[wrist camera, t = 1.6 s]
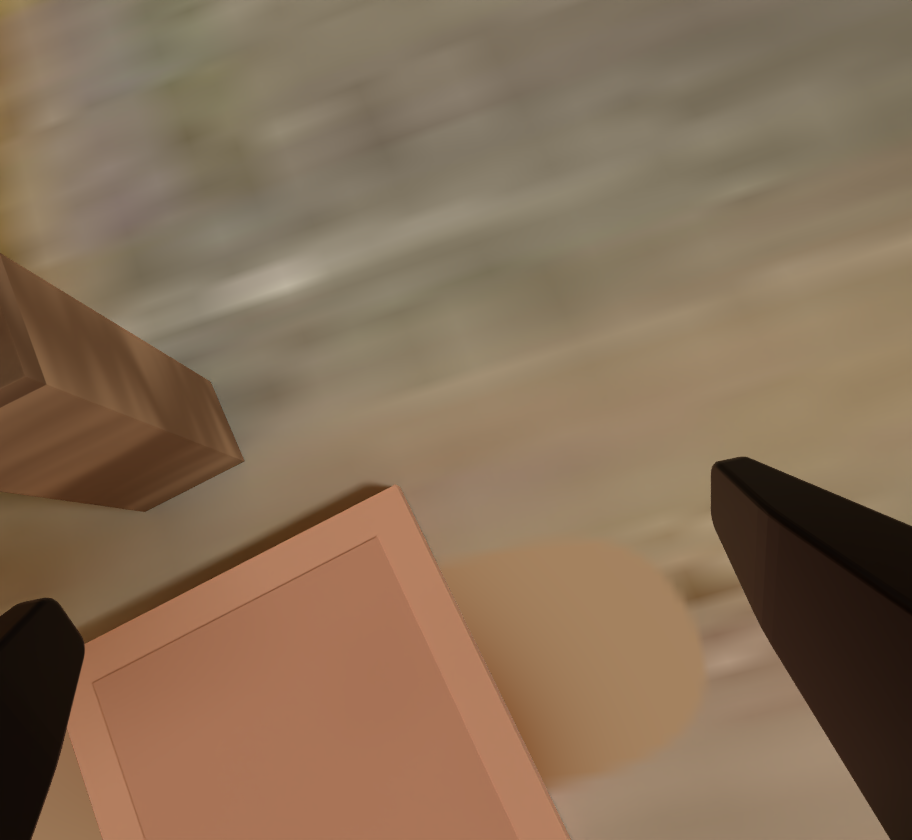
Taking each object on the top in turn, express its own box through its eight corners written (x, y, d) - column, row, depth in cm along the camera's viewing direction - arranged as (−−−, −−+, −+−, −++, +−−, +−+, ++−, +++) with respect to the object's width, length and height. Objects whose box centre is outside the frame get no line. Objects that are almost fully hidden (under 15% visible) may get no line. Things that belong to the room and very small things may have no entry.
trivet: (582, 862, 20) (586, 879, 19) (201, 1068, 19) (183, 1097, 18) (400, 487, 23) (395, 484, 22) (66, 659, 22) (44, 664, 21)
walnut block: (245, 461, 23) (25, 376, 13) (144, 512, 23) (-163, 470, 13) (210, 381, 24) (-24, 237, 14) (113, 429, 24) (-202, 324, 13)
